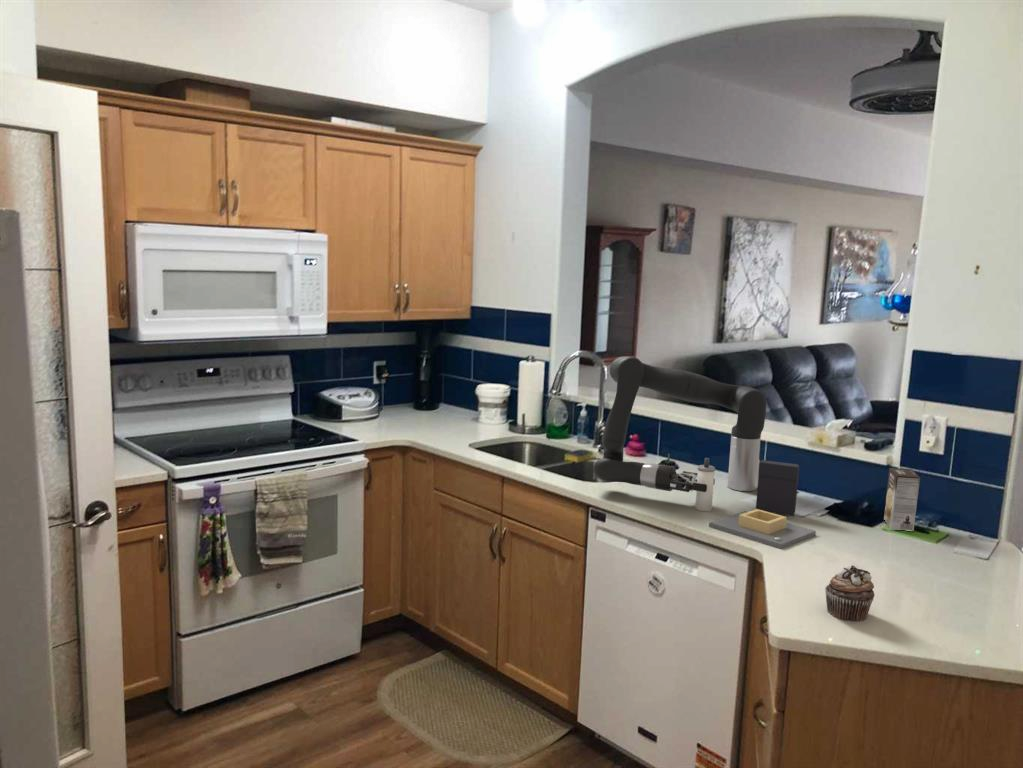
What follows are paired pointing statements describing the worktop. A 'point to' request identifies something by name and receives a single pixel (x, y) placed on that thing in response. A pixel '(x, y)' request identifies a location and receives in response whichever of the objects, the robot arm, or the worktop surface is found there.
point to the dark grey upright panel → (777, 487)
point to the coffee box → (901, 499)
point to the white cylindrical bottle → (707, 478)
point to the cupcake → (850, 594)
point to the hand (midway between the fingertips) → (710, 485)
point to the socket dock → (763, 528)
